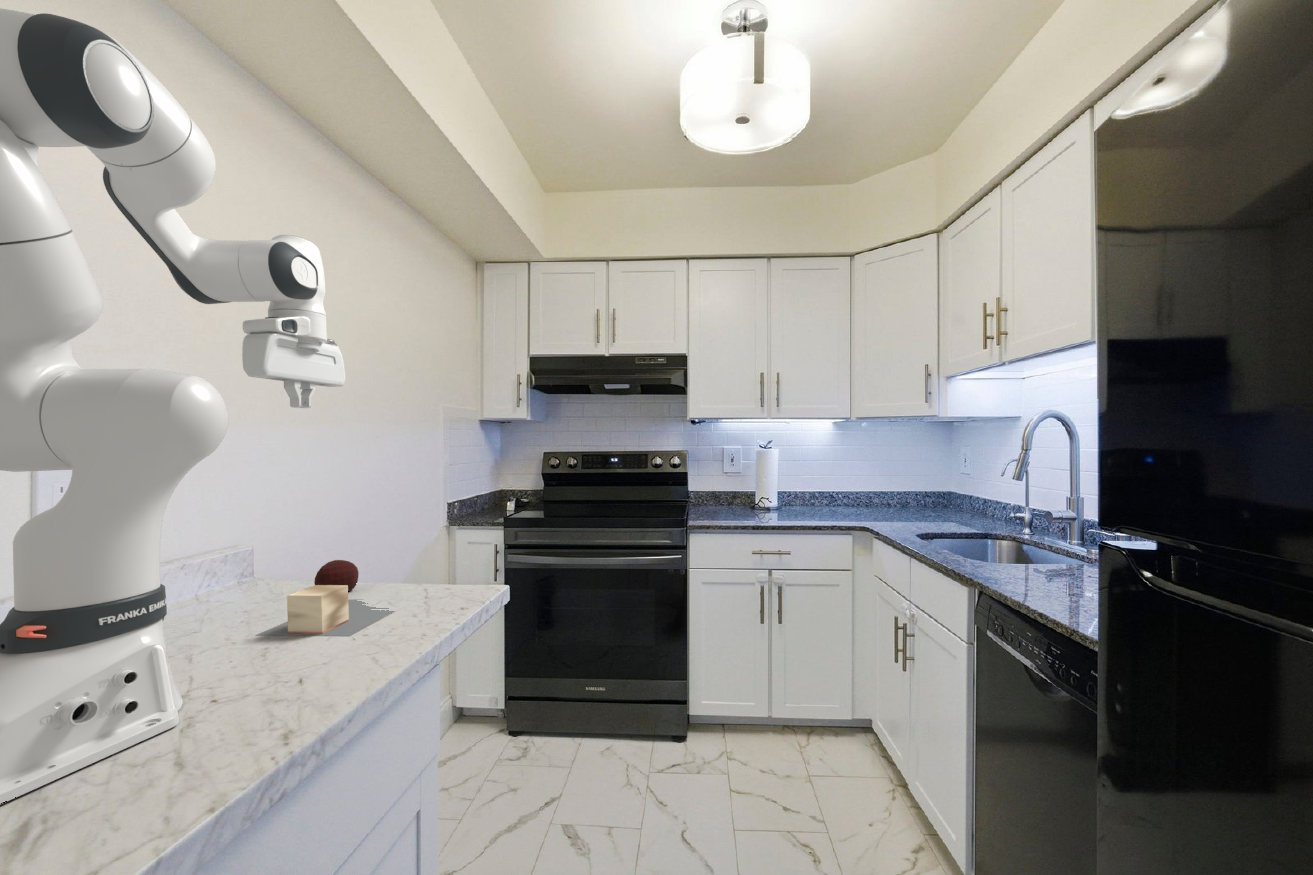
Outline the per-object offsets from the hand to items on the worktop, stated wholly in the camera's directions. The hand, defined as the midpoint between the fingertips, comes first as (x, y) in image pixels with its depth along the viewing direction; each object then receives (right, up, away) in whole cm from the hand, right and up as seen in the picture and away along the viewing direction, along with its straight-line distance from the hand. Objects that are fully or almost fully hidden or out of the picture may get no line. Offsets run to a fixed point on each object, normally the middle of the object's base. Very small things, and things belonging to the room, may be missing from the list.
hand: (300, 407), depth 98 cm
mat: (+10, -37, -4) cm, 38 cm away
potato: (-1, -38, +12) cm, 39 cm away
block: (+9, -30, -9) cm, 33 cm away
